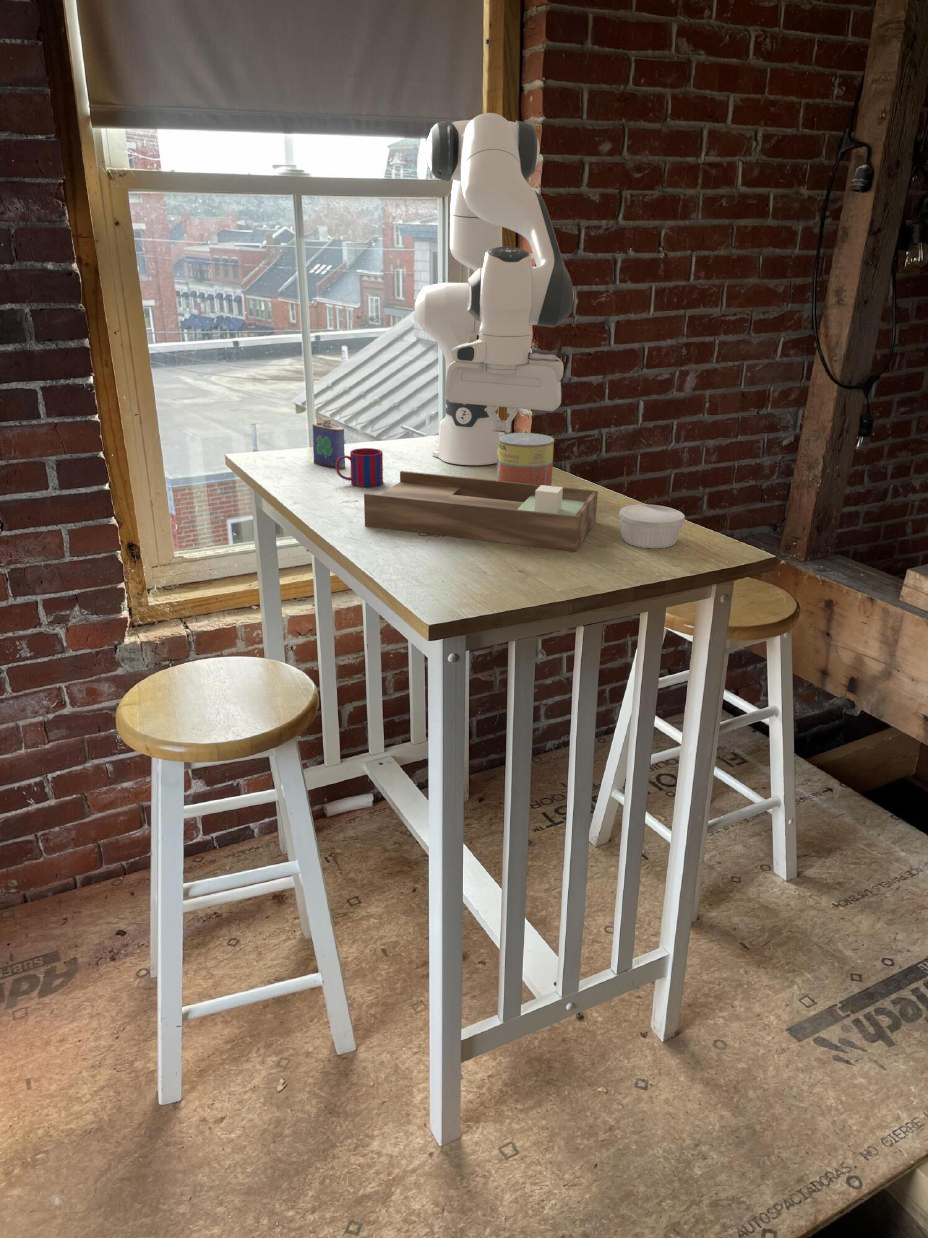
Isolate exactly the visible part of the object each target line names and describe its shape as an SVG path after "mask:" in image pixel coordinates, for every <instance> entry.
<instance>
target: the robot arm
mask: <svg viewBox="0 0 928 1238" xmlns="http://www.w3.org/2000/svg"><path fill="white" fill-rule="evenodd" d="M425 154H426V155H425V156H426V161H427V164H428V167H429V169H430V173H431V174H432V175H433V176H434V178H435V179H438V180H441V181H445V182H451V181H452V186H451V195H450V208H449V209H450V210H449V212H450V213H449V214H450V216H449V217H450V218H449V223H450V224H449V225H450V226H449V250H450V253H451V255H452V257H453V258H454V259H455V260H456V261H458V263H460V264H462V265H463V266H465V267H466V268H469V269H471V270H472V271H474V272H473V274H472V275H470V277H468V279H467V281H468V282H440V283H435V284H429V285H425V286H424V287H423V288H422V289H421V290H420V291H419V293H418V295H417V298H416V300H415V303H414V304H415V306H414V314H415V318H416V320H417V323H418V324H419V326H420V327H421V328H422V330H424V331H425V332H426V333H427V334H429V335H430V336H431V337H432V338H433V339H434V341H435V342H436V344H437V345H438V346H439V348H440V350H441V352H442V355H443V357H444V360H445V366H446V377H445V389H444V393H445V404H444V405H445V406H444V407H445V414H446V415H445V416H444V418H442V420H441V421H440V422H439V428H438V429H439V431H438V432H439V433H438V443H437V444H438V446H437V447H438V448H437V449H435V450H433V451H432V457H435V458H439V460H441V461H443V462H445V463H449V464H454V465H463V466H485V465H486V466H487V465H493V464H497V454H498V437H499V436H500V435H503V434H508V433H510V432H511V430H512V427H511V426H512V422H513V420H514V418H515V417H516V415H517V413H518V411H519V409H523V410H533V411H534V410H535V411H543V412H553V411H555V410H557V409H558V408H559V407H560V406H561V404H562V386H561V384H562V383H561V380H562V379H563V376H564V370H565V369H564V367H565V366H564V363H563V361H562V359H561V358H559V357H558V356H557V355H555V354H552V353H546V354H545V353H539V352H531V349H532V348H531V345H532V327H531V325H532V326H538V327H545V328H546V327H547V328H556V327H557V326H559V324H561V323H562V322H564V321H565V320H566V319H567V318H568V317H569V316H570V314H571V313H572V311H573V307H574V299H575V295H574V294H575V292H574V286H573V281H572V279H571V275H570V273H569V272H568V269H567V267H566V265H565V262H564V260H563V256H562V253H561V250H560V248H559V243H558V241H557V237H556V233H555V230H554V227H553V224H552V220H551V217H550V214H549V211H548V208H547V205H546V202H545V200H544V199H543V196H542V194H540V193H539V192H538V191H536V190H534V189H533V188H532V187H531V185H530V184H529V183H528V181H526V180H528V179H529V178H530V177H531V176H532V175H533V174H534V173H535V170H536V166H537V164H538V162H539V158H540V143H539V139H538V134H537V131H536V129H535V127H534V126H533V125H532V124H530V123H527V122H525V121H520V120H515V122H514V121H510V120H507V118H505V117H504V116H502V115H500V114H499V113H493V112H485V113H481V114H479V115H476V116H475V117H473V118H472V119H467V120H457V121H451V120H450V119H448V120H443V121H439V122H437V123H435V124H434V125H433V126H432V127H431V128H430V132H429V135H428V137H427V140H426V145H425ZM503 228H505V229H507V230H509V231H511V232H512V231H513V232H515V233H517V234H518V235H521V236H522V237H523V238H524V239H526V240H527V241H528V244H529V246H530V250H531V252H532V256H533V260H534V264H535V266H533V264H532V257H531V253H529V252H528V251H527V250H525V249H523V248H519V247H514V246H503ZM473 336H478V339H473V340H470V338H471V337H473ZM499 408H506V414H508V417H507V418H506V420H501V418H500V416H499V415H498V413H499Z"/></svg>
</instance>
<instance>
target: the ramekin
mask: <svg viewBox="0 0 928 1238" xmlns="http://www.w3.org/2000/svg"><path fill="white" fill-rule="evenodd" d="M618 515H619V516H618V517H619V519H620V533H621V538H622V539H623V540H624V542H626V544H628V543H629V544H628V545H630V546H632V545H633V547H636V546H637V547H636V548H640V547H641V549H647V548H663V549H667V548H666V547H668V548H670V547H669V546H671V547H673V546H674V545H675V544H676V543H677V541H678V539H679V535H680V533H681V530H682V527H683V525H684V523H685V520H686V519H685V518H686V516H685V514H684V513H683V512H682V511H680V510H677V509H674V508H672V507H668V506H664V505H656V504H643V503H642V504H639V503H638V504H632V505H631V504H630V505H626V506H624V507H622V508H621V509H620V510H619V514H618ZM672 545H673V546H672Z"/></svg>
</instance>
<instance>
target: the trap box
mask: <svg viewBox="0 0 928 1238" xmlns="http://www.w3.org/2000/svg"><path fill="white" fill-rule="evenodd" d="M540 486H541V485H536V484H526V483H516V482H506V481H497V479H494V480H493V479H486V478H485V479H484V478H474V477H468V476H467V477H466V476H465V477H464V476H456V475H443V474H436V473H426V472H416V471H407V470H400V471H399V482H397V483H395V484H394V485H393V486H391V487H390V488H388V489H387V490H385V491H384V492H382V493H369V492H365V493H363V502H364V503H363V504H364V505H363V506H364V507H363V508H364V510H363V511H364V513H363V514H364V527H369V528H377V529H378V528H379V529H388V530H394V531H395V530H396V531H401V532H410V533H419V534H428V535H435V536H436V535H437V536H444V537H445V536H446V537H453V538H459V539H460V538H462V539H468V540H478V541H483V542H484V541H485V542H493V543H501V544H509V545H510V544H512V545H519V546H528V547H535V548H536V547H537V548H545V549H550V550H560V551H568V552H574V553H575V552H577V551H578V549H579V547H580V546H581V545H582V543H583V541H584V540H585V538H586V537H587V536H588V534H589V532H590V531H591V529H592V528H593V527H594V525H595V523H596V519H597V510H598V509H597V506H598V495H599V491H598V490H593V489H592V490H591V489H584V488H583V489H582V488H575V487H574V488H573V487H565V486H564V487H563V494H562V509H561V510H560V511H559V513H558V514H553V513H544V512H535V511H534V509H535V491H536V490H537V489H538V488H539V487H540ZM545 486H546V485H545ZM555 487H557V486H555Z"/></svg>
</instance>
